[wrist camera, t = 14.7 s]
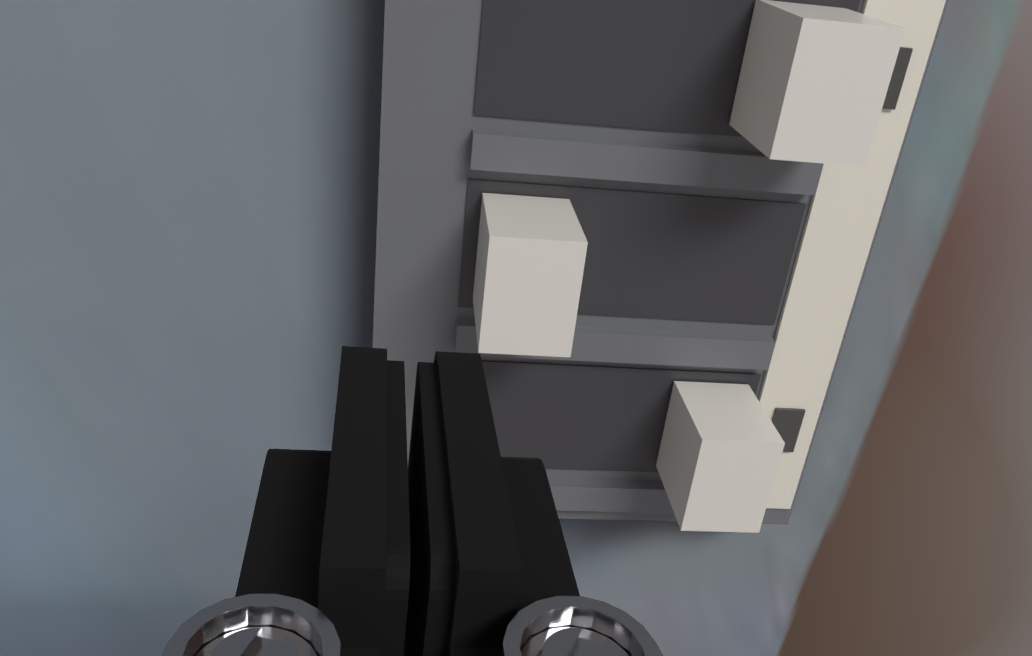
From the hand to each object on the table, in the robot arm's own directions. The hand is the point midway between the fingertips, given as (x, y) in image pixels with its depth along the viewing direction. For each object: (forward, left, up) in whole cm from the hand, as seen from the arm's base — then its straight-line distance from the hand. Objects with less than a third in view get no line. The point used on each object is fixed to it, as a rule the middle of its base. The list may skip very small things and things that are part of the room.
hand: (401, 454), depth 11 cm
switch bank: (-5, -8, -23) cm, 25 cm away
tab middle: (-5, -4, -20) cm, 21 cm away
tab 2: (+2, -12, -20) cm, 23 cm away
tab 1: (-12, -12, -20) cm, 26 cm away
